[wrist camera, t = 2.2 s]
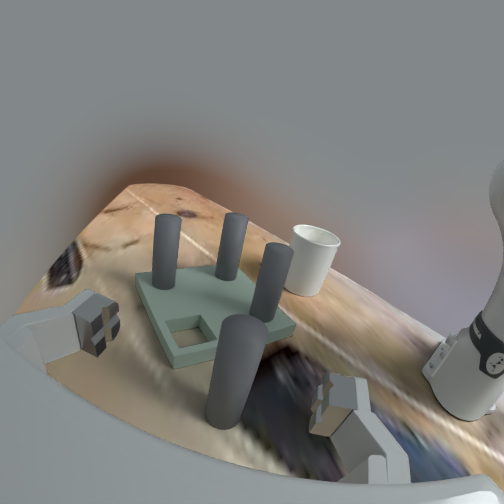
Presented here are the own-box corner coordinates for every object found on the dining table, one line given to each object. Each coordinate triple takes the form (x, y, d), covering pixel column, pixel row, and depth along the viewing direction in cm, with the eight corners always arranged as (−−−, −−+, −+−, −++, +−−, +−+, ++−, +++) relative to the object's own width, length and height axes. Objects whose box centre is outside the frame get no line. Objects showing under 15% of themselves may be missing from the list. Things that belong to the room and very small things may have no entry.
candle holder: (291, 301, 54) (309, 244, 49) (270, 274, 62) (284, 222, 57) (330, 297, 58) (350, 246, 53) (308, 273, 66) (323, 226, 61)
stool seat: (135, 285, 48) (137, 210, 42) (231, 273, 59) (244, 208, 53) (173, 369, 34) (179, 278, 28) (291, 335, 45) (319, 259, 39)
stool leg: (222, 396, 32) (244, 308, 26) (246, 417, 29) (278, 332, 24) (197, 412, 29) (211, 324, 23) (222, 435, 26) (246, 353, 21)
